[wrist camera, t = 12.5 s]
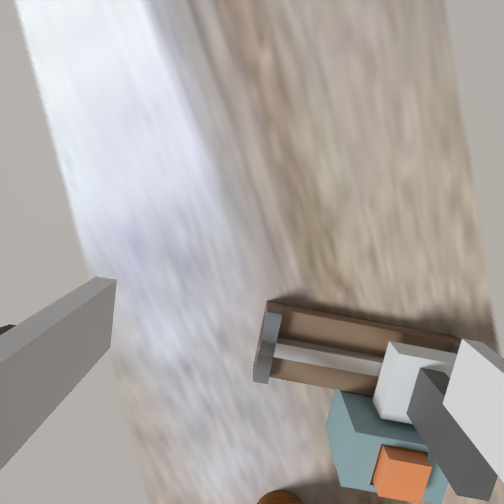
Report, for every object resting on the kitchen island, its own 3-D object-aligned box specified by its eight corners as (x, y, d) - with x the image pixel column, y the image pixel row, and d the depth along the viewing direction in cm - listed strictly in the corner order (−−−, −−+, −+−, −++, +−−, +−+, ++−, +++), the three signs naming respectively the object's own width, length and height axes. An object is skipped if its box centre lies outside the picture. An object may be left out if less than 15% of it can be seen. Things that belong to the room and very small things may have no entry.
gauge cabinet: (336, 382, 45) (355, 432, 36) (424, 399, 45) (464, 452, 36) (324, 429, 46) (340, 488, 37) (410, 445, 46) (446, 508, 38)
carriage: (388, 340, 40) (449, 417, 27) (454, 353, 40) (546, 435, 27) (372, 401, 41) (422, 501, 28) (436, 413, 41) (514, 518, 28)
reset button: (368, 413, 42) (389, 459, 35) (404, 419, 42) (432, 466, 35) (359, 445, 43) (378, 496, 36) (394, 451, 43) (420, 503, 36)
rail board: (266, 301, 43) (267, 311, 40) (456, 336, 44) (473, 350, 40) (253, 365, 45) (252, 381, 41) (437, 399, 45) (452, 418, 42)
